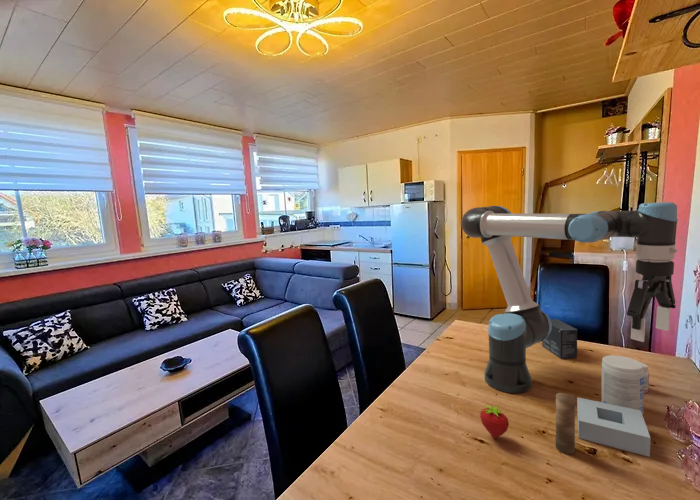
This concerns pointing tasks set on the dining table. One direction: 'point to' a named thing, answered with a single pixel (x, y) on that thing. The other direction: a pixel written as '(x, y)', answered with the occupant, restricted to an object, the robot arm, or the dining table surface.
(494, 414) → the strawberry
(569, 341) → the small box
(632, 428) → the socket block
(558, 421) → the dowel
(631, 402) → the supplement tub
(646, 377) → the pill bottle
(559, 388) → the dining table surface
